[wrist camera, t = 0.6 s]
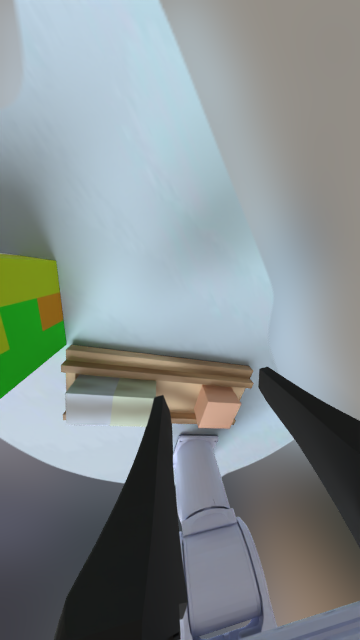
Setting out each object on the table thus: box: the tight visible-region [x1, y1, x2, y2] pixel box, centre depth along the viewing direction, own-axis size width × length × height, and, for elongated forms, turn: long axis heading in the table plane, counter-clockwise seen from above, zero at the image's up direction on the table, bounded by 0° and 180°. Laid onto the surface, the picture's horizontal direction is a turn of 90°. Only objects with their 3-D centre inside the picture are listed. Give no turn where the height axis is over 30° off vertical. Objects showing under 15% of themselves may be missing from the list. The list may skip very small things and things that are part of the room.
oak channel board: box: [61, 345, 254, 427], centre depth 21 cm, size 12×26×4 cm, turn 77°
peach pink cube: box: [194, 385, 241, 429], centre depth 22 cm, size 5×5×3 cm
